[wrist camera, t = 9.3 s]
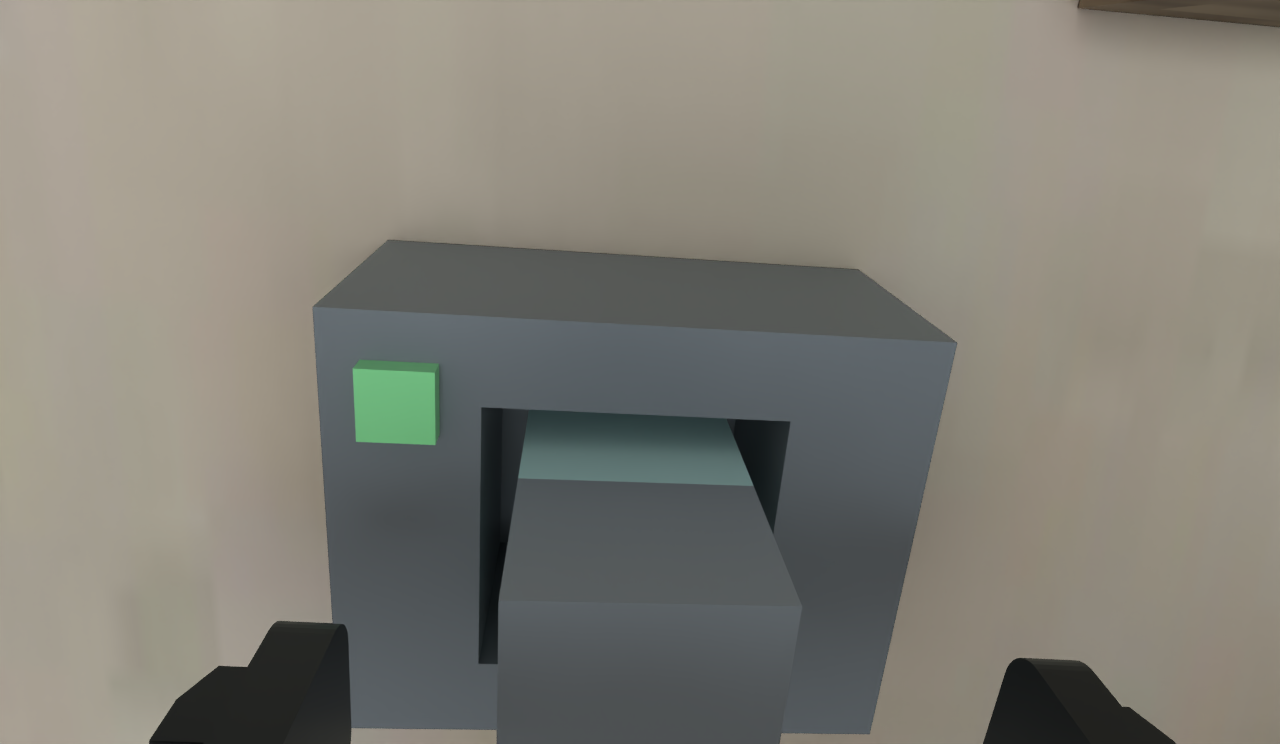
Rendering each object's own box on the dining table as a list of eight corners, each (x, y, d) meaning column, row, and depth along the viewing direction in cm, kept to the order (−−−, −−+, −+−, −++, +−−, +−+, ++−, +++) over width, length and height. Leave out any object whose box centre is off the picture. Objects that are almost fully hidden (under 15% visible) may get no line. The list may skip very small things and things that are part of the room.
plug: (707, 372, 17) (801, 606, 10) (691, 520, 18) (765, 829, 11) (536, 364, 17) (498, 600, 9) (531, 516, 18) (495, 830, 11)
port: (858, 269, 18) (967, 351, 13) (804, 581, 20) (876, 750, 15) (387, 240, 17) (303, 314, 12) (397, 570, 20) (333, 744, 15)
